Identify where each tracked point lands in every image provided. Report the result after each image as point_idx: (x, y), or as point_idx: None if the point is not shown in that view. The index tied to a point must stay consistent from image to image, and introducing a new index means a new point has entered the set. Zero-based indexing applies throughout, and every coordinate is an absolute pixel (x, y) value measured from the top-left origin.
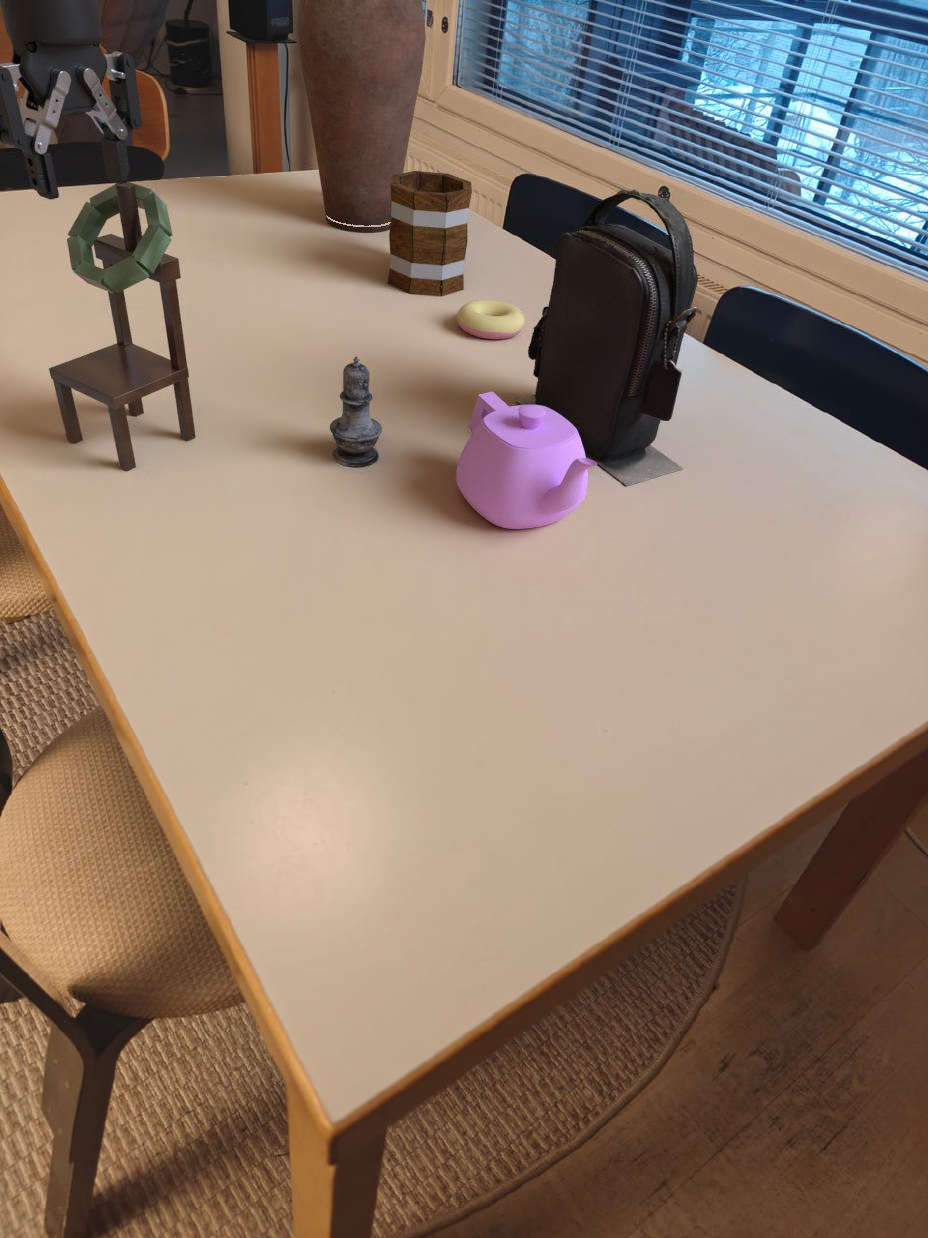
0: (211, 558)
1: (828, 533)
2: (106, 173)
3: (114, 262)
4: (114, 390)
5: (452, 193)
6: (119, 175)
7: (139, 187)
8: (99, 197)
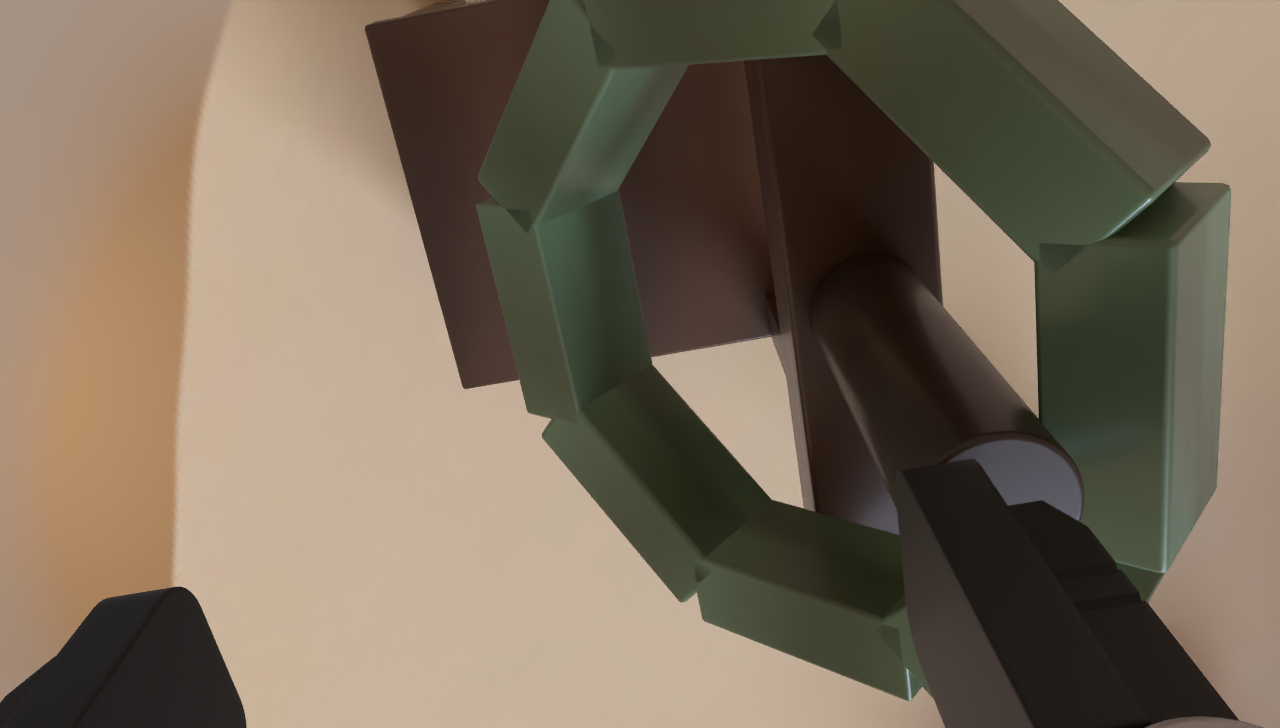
0: (478, 691)
1: None
2: (906, 486)
3: (759, 171)
4: (494, 344)
5: None
6: (928, 663)
7: (1143, 449)
8: (913, 59)
